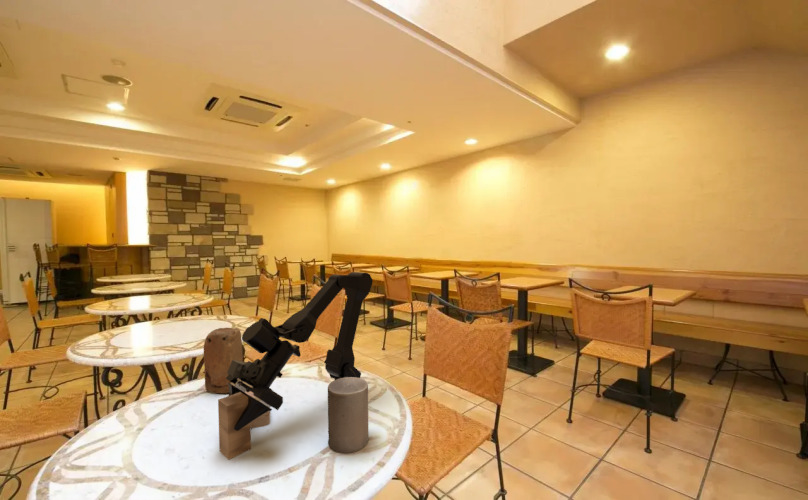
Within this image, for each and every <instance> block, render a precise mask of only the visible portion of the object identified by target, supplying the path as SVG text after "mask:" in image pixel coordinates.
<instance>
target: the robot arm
mask: <svg viewBox="0 0 808 500" xmlns="http://www.w3.org/2000/svg"><path fill="white" fill-rule="evenodd" d="M373 283H374V282H373V278H372V276H371V274H370V273H368V272H362V271H361V272H360V271H359V272H358V271H352V272H349V273H348V274H332V275H330V276H329V277H328V279H327V281H326V282H325V283H324V285H323V286H322V287H321V288H320V289H319V290H318V291H317V292H316V294H315V295H314V296H313V297H312V298H311V300H310V301H309V302H308V303H307V304H306V305H305V306H304V307H303V308H301V309H300V310H299V311H297V312H295V313H293V314H292V315H291V316H289V317H288V318H286V320H285V321H284V322H283V323H282V324H279V325H276V326H273V324H271V323H270V322H269V321H268V319H266V318H265V317H260V319H258V321H255V322H254V323H252V324H251V325H249V326H248V327H246V329H245V330H244V332H243V333H242V335H241V339H242V342H244V343H245V344H247V345H248V346H249V347H250V348H252V349H254V351H257V353H259V354H264V355H263V356H262V357H261V359H259V358H257V359H254V361H249V360H248V361H237V360H232V362H231V364H230V367H229V369H228V371H227V374H229V375H228V376H227V377H226V379H227V380H229V381H230V382H231V384H230V383H228V386H229V393H228V396H230V395H233V394H236V393H239V392H241V393H242V394H244V395H246V396H247V397H248V405H247V407H246V408H245V410H244V412H243V413H242V415H241V417H240V418H239V420H238V421H237V423H236V425H235V427H234V429H235V430H236V431H239V430H240V429H241V428H243V427H244V426H246V425H247V424H249V423H250V422H252V421H253V420H255V419H256V418H258V417H259V416H261V415H263V414H264V413H266V412H268V411H270V412H271V411H272V410H273V409H275V410H276V411H279V409H280V408H281V406H282V405H283V403H284V398H283V396H281V394H278V393H277V392H276V391H274V390H273V389H272V388H270V387H271V386H272V384H273V383H274V382H275V380H276V379H277V378H280V379H281V377H282V376H283V375H284V374H283V373H282V372H281V371H282V370H283V369H284V368H285V366H286V364H287V363H288V361H290V359H291V357H292V356H296V357H298V358H300V357H301V351H300V346H299V345H298V344H292V343H291V342H295V343H299V344H302V343H306V342H307V341H308V340H309V339H310V337H311V336H312V334H313V333H314V331H315V329H316V326H317V321H318V319H319V318H320V316H321V315H322V314H323V313H324V311H326V309H327V308H328V307H329V306H330V304H331V303H332V301H333V300H335V298H336V297H337V296H338V295H339V293H340V292H341V291H342V290H343V289H344V291H345V295H346V301H345V306H344V311H343V315H342V318H341V323H340V327H339V331H338V336H337V341H336V344H335V346H334V347H333V348H332V349H328V350H327V351H326V357H325V360H324V364H325V367H324V369H325V370H326V373H328V375H329V377H330V379H334V380H337V379H340V378H345V377H357V378H361V375H362V372H361V371H360V370H358V369H357V368H356V367H355V359H356V358H355V355H354V350H353V346H354V342H355V337H356V332H357V327H358V324H359V319H360V315H361V311H362V306H363V301H365V299H366V298H367V296H368V295H369V294H370V292H371V289H372V286H373ZM280 338H281V339H280ZM282 339H285V340H282ZM289 341H291V342H289ZM250 391H251V392H252V393H254V394H253V395H254V396H255V398H253V397H251V396H250V395H248V394H246V393H245V392H250Z"/></svg>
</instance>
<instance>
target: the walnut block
mask: <svg viewBox="0 0 808 500" xmlns="http://www.w3.org/2000/svg"><path fill="white" fill-rule="evenodd" d="M217 404H218V405H217V408H218V409H217V410H218V438H219V443H218V444H219V452H220V453H221V454H222V455H223V456H224V457H225V458H226V459H227V460H232V459H233V458H235V457H237V456H239V455H242V454H244V453H247V451H250V450H252V437H251V436H252V434H251V433H252V432H251V430H252V428H250V423H249V424H247V425H246V426H244V427H243V428H241V429H240V430H239V431H236V430H235V429H234V427H235V425H236V423H237V421H238V420H239V418H240V417H241V415H242V413H243V412H244V410H245V408H246V407H247V405H248V397H247V396H246V395H244V394H242V393H241V392H239V393H236V394H233V395H230V396H224V397H222V398H219V399H217Z"/></svg>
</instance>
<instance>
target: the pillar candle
mask: <svg viewBox="0 0 808 500" xmlns="http://www.w3.org/2000/svg"><path fill="white" fill-rule="evenodd" d="M327 423H328V426H327V427H328V430H327V434H328V439H327V445H328V447H329V449H331V450H332V451H334V452H336V453H338V454H339V453H340V454H351V453H355V452H358V451H360V450H362V449H364V448H365V447H366V446H367V444H368V443H369V383H368V382H367V380H366V379H365V378H361V377H360V378H357V377H345V378H340V379H337V380H335V379H334V380H332V381H331V382H330V383H329V384H328V385H327Z"/></svg>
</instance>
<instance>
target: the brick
mask: <svg viewBox="0 0 808 500" xmlns="http://www.w3.org/2000/svg"><path fill="white" fill-rule="evenodd" d="M245 393H246V394H248V395H250V396H251V397H253V398H255V396H254V395H253V394H254V393H252V392H251V391H250V392H245ZM270 414H271V411H268V412H266V413H264V414H263V415H261V416H259V417H258V418H256V419H255V420H253V421H252V422H250V429H254V428H260V427H261V428H262V427H265V426H268V425H269V424H270V421H271V420H270Z"/></svg>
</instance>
